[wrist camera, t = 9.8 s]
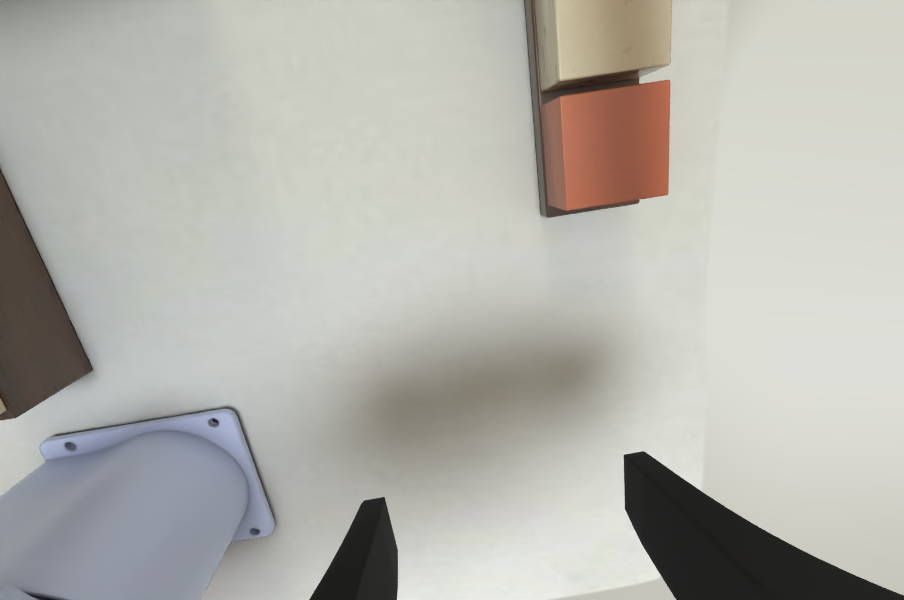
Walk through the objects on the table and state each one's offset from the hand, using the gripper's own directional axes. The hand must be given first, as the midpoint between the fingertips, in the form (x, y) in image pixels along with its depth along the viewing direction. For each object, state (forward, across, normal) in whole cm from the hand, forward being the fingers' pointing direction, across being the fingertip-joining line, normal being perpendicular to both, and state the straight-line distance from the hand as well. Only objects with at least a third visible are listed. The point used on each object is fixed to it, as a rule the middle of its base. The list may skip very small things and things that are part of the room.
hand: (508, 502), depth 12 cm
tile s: (+8, -6, -9) cm, 14 cm away
